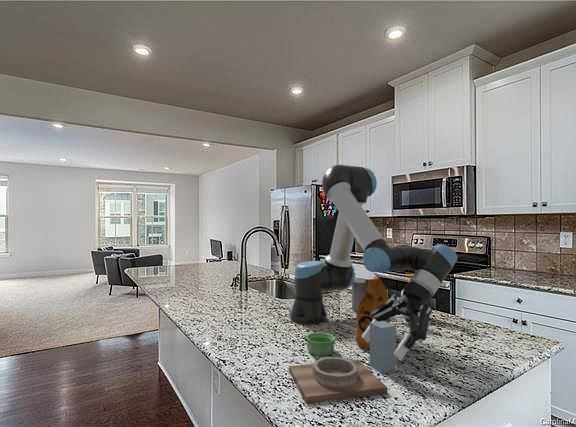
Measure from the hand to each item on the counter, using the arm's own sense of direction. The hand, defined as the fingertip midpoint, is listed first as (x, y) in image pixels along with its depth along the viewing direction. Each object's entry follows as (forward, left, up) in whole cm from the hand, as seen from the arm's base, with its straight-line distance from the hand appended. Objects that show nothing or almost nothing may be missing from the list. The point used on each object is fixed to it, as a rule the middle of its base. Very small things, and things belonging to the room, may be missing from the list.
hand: (379, 347), depth 92 cm
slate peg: (-1, +1, -6) cm, 6 cm away
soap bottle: (-44, +39, -6) cm, 59 cm away
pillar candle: (-57, +22, -6) cm, 61 cm away
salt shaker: (-32, +31, -6) cm, 45 cm away
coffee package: (-18, +7, -6) cm, 20 cm away
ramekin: (-16, -12, -6) cm, 21 cm away
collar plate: (+4, -15, -6) cm, 16 cm away
